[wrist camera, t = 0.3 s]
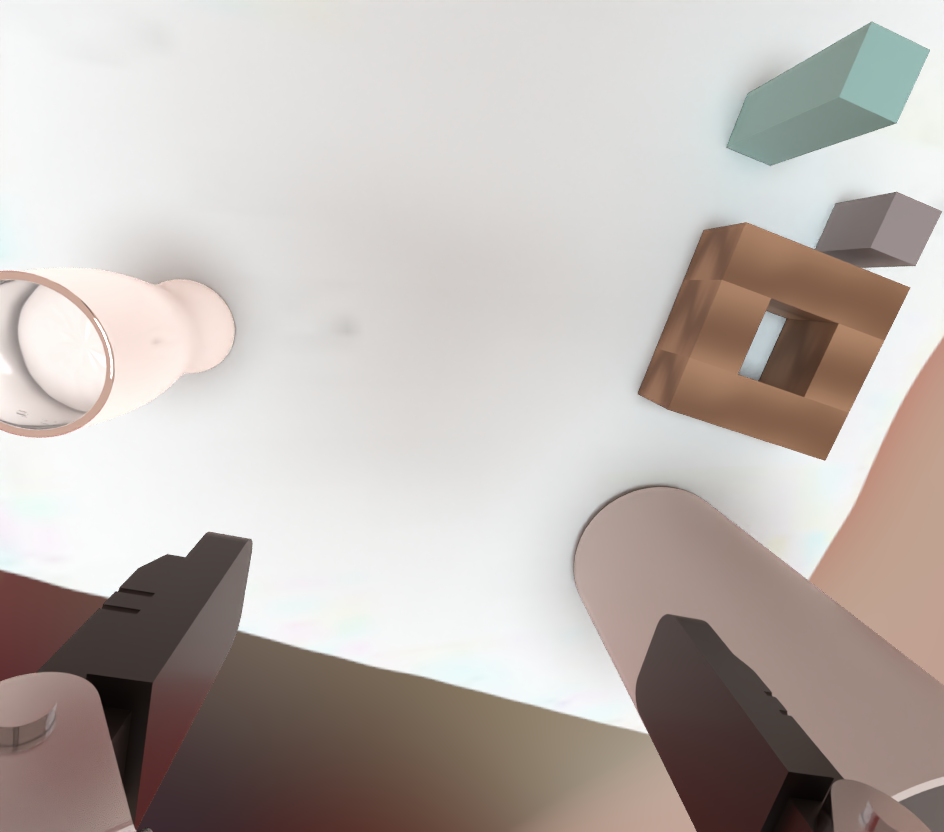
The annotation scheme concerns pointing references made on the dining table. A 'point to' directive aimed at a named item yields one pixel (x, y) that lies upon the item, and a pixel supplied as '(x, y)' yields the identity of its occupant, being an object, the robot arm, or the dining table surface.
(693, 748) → the robot arm
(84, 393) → the beer glass
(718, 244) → the socket block
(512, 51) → the dining table surface
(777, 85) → the long pin
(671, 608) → the cylinder vase
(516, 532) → the dining table surface
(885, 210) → the short pin
